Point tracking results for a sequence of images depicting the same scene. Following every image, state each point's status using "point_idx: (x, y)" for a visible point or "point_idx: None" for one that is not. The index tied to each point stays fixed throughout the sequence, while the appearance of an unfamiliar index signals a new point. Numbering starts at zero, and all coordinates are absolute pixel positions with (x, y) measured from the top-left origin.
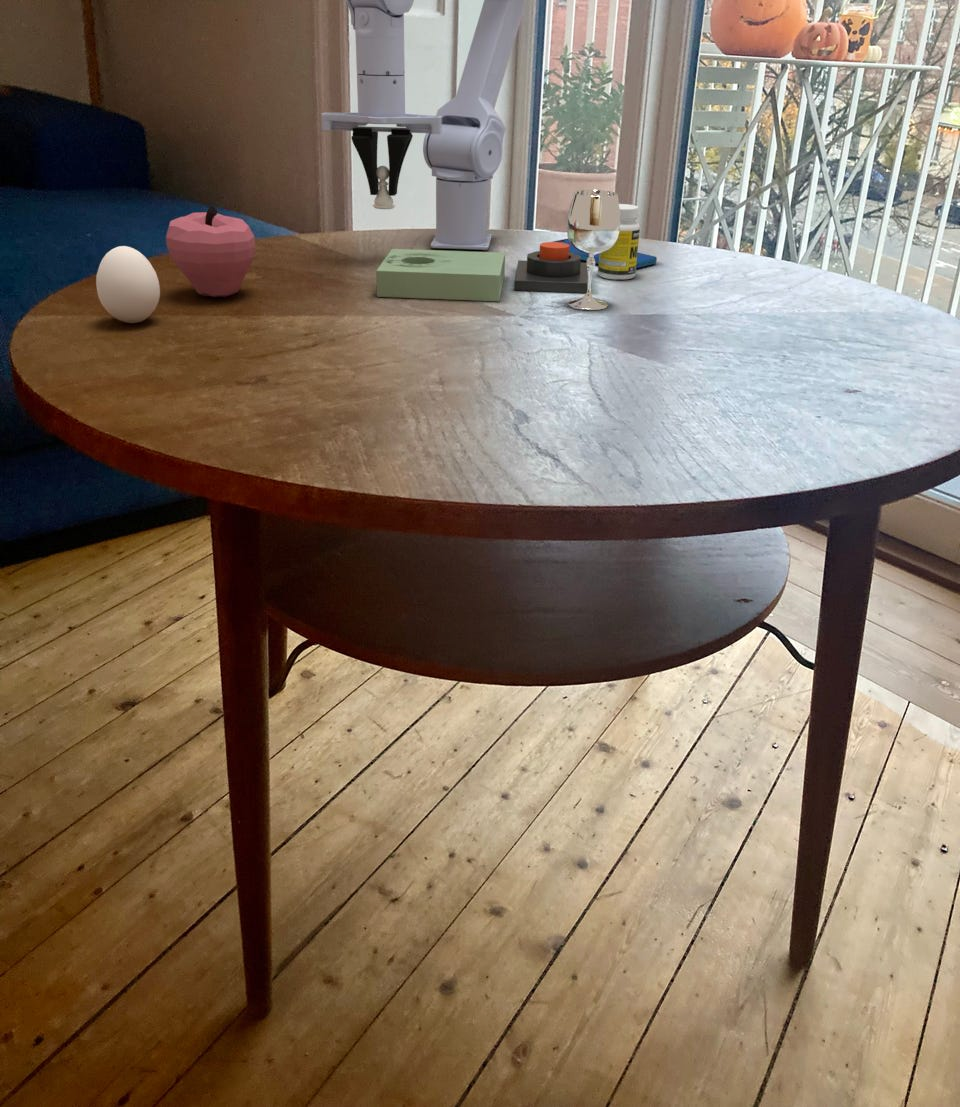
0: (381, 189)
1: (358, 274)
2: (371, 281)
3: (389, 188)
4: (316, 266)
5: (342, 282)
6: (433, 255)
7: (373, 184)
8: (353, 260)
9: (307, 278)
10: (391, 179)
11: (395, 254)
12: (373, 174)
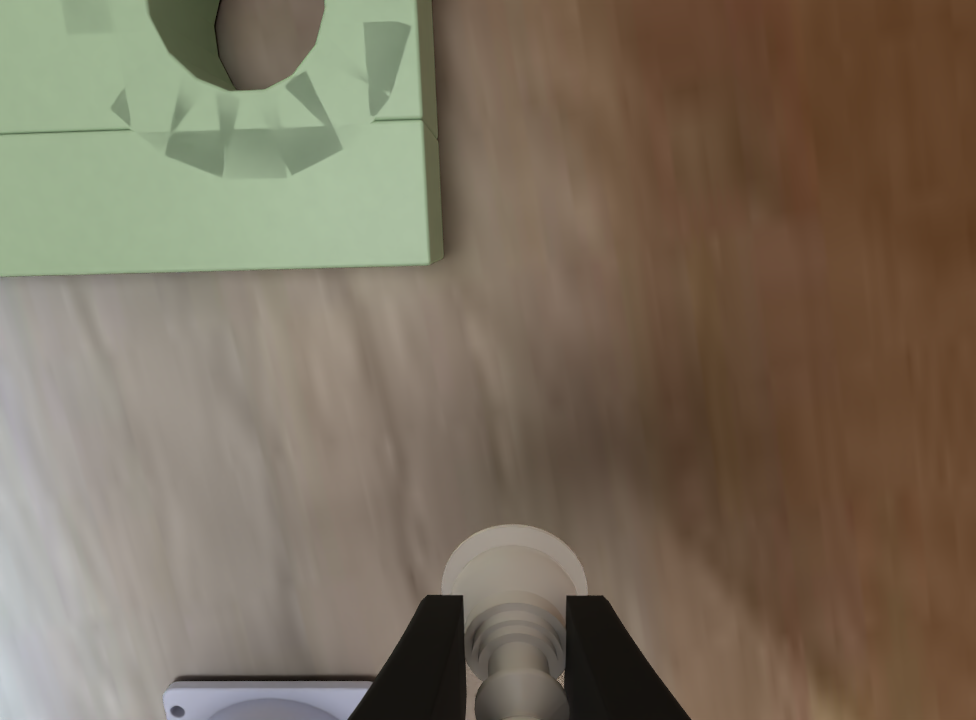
0: (527, 649)
1: (582, 216)
2: (504, 92)
3: (451, 622)
4: (780, 330)
5: (627, 45)
6: (188, 138)
7: (591, 637)
8: (642, 460)
9: (793, 94)
10: (419, 673)
11: (383, 124)
12: (603, 704)
